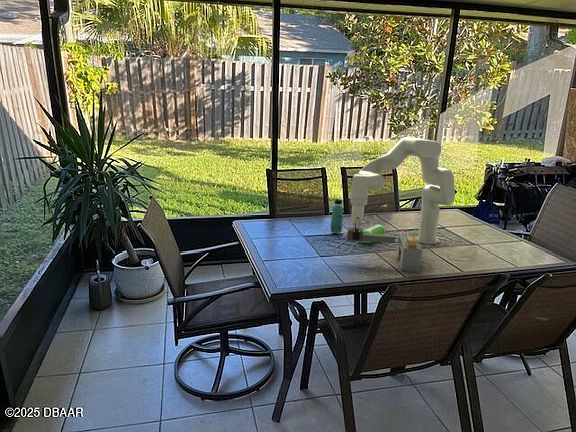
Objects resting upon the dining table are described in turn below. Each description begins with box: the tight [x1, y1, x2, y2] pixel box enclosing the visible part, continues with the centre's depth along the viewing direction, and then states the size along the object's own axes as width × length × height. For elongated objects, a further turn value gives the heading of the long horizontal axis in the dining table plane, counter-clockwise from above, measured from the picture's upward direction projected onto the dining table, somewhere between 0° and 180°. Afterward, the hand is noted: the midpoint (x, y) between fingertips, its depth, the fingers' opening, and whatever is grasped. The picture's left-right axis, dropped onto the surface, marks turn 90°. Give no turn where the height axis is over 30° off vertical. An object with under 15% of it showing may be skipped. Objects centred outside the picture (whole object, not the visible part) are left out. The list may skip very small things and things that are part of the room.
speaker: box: [362, 224, 386, 244], centre depth 231 cm, size 18×7×8 cm, turn 141°
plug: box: [342, 226, 396, 244], centre depth 199 cm, size 5×24×5 cm, turn 82°
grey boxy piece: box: [396, 234, 423, 273], centre depth 199 cm, size 20×8×14 cm, turn 172°
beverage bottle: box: [330, 198, 344, 234], centre depth 237 cm, size 6×7×20 cm
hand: (355, 237), depth 201 cm, fingers closed on plug, 5 cm apart
